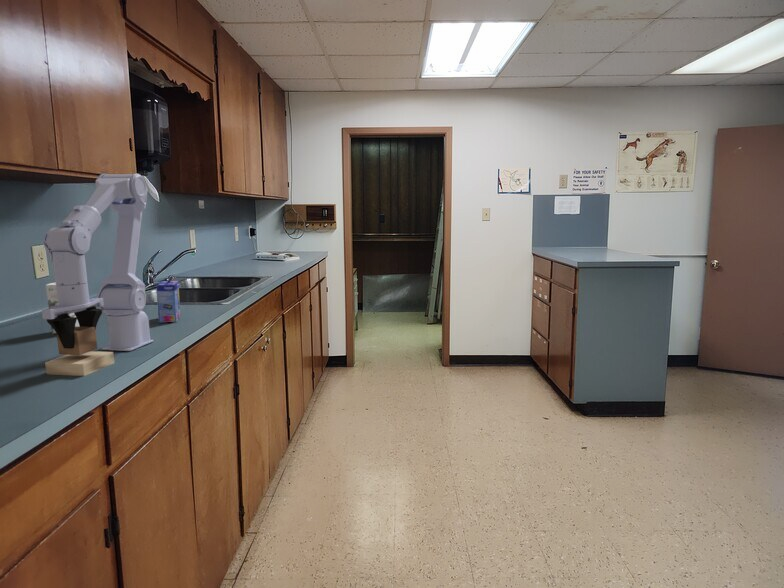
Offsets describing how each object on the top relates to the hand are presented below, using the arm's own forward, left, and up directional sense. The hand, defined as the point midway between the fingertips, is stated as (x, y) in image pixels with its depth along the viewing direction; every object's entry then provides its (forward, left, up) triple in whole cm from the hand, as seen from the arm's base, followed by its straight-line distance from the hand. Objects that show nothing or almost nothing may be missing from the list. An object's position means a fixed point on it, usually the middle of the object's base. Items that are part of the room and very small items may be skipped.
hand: (79, 344), depth 105 cm
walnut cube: (0, 0, -2) cm, 2 cm away
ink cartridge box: (-48, -10, -6) cm, 49 cm away
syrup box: (-29, -30, -6) cm, 42 cm away
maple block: (0, 0, -6) cm, 6 cm away
